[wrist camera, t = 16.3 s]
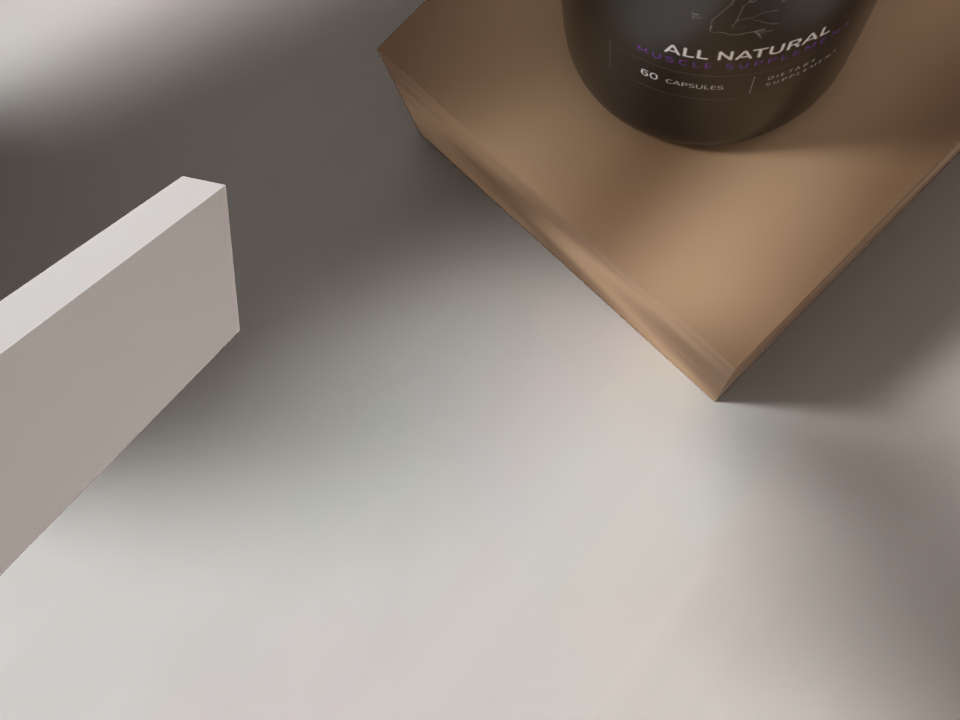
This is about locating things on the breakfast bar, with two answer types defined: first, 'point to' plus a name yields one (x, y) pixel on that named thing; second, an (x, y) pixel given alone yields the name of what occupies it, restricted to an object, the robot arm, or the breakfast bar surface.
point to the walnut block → (685, 170)
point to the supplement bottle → (710, 61)
